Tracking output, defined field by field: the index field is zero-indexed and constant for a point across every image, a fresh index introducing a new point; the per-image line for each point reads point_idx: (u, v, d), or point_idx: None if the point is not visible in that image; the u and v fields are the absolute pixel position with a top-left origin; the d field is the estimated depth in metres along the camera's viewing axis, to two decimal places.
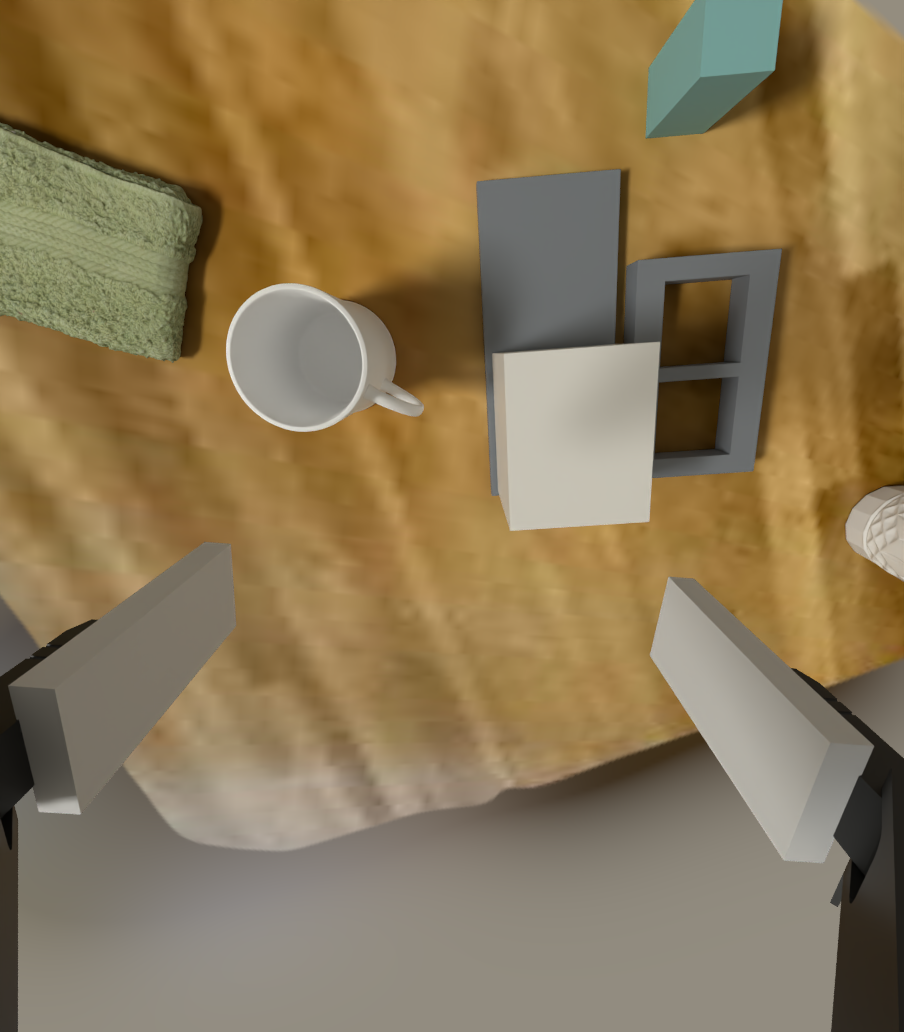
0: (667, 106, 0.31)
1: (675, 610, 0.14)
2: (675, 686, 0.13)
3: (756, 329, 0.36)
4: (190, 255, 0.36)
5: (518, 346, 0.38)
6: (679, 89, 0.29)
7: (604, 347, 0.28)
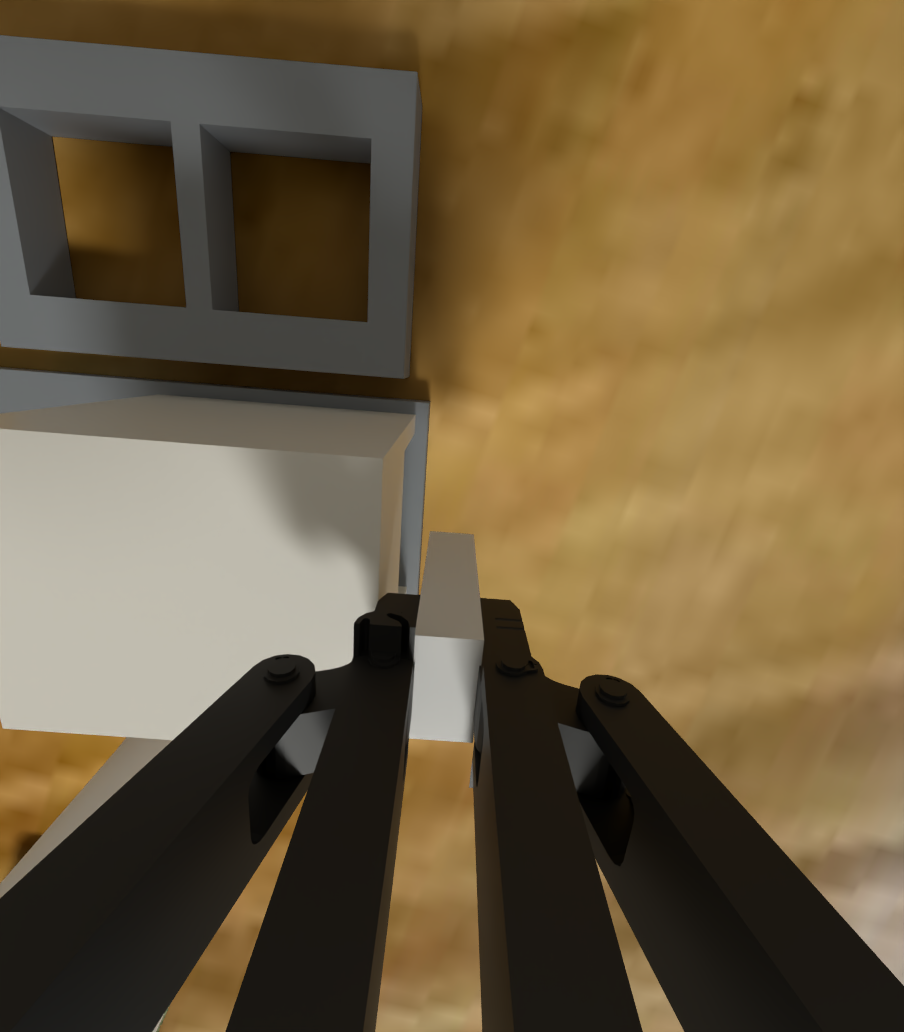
0: None
1: None
2: None
3: (100, 83, 0.17)
4: None
5: None
6: None
7: None
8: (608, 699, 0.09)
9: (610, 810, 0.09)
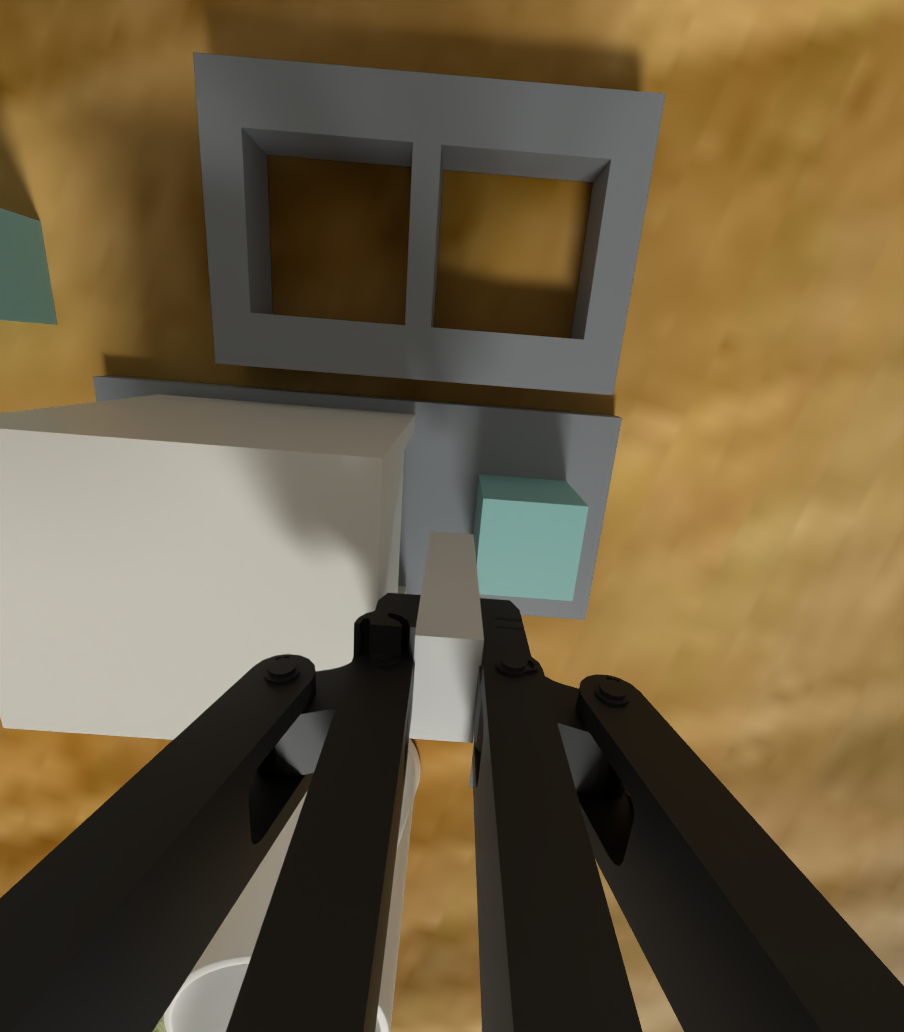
0: None
1: None
2: None
3: (348, 105, 0.17)
4: None
5: None
6: None
7: None
8: (607, 699, 0.09)
9: (610, 810, 0.09)
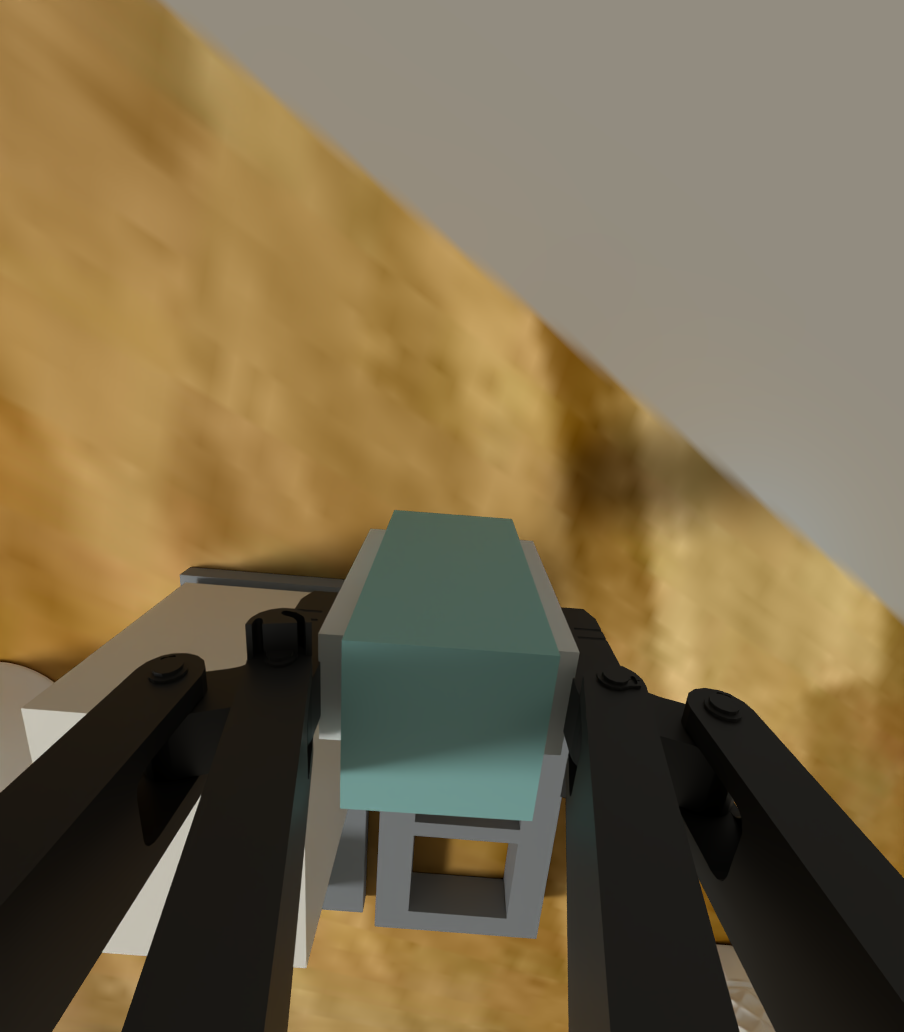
0: None
1: None
2: None
3: (541, 800, 0.27)
4: None
5: None
6: None
7: None
8: (718, 713, 0.09)
9: (713, 827, 0.09)
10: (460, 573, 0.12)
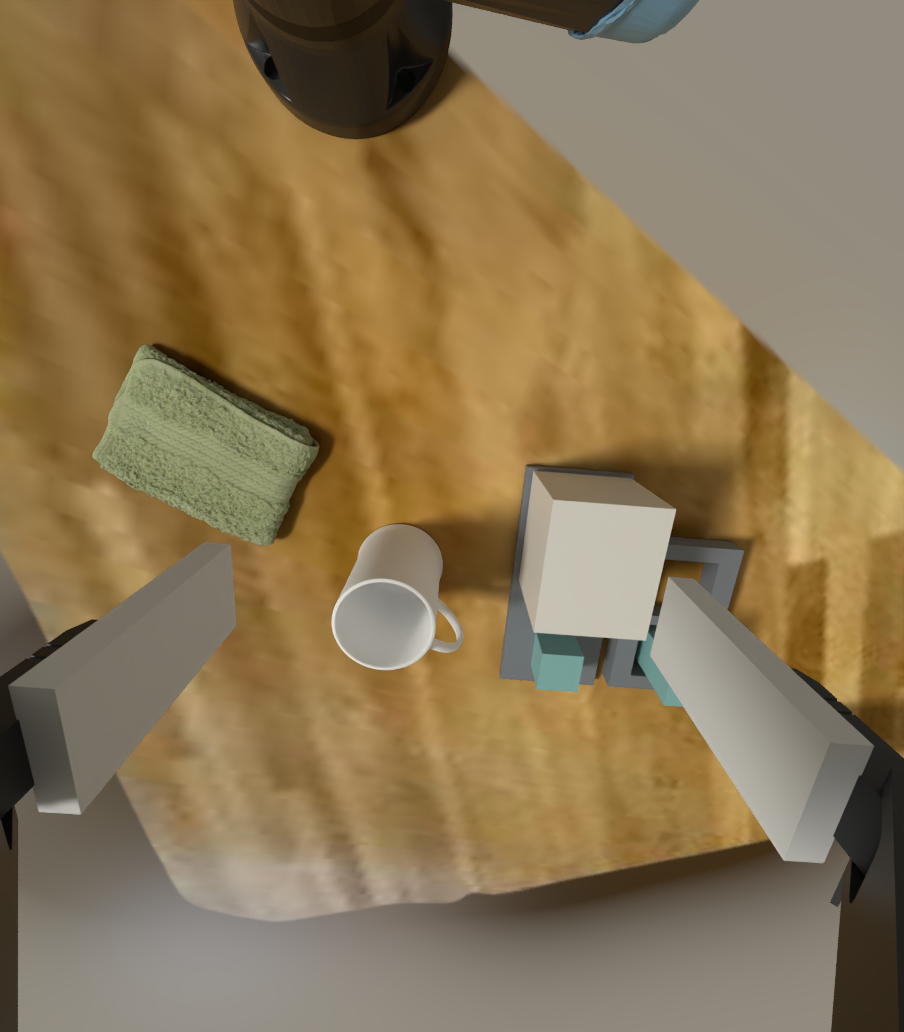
0: (646, 671, 0.48)
1: (675, 610, 0.14)
2: (675, 686, 0.13)
3: (719, 599, 0.47)
4: (302, 475, 0.45)
5: None
6: (653, 681, 0.47)
7: (632, 506, 0.35)
8: None
9: None
10: None
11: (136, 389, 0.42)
